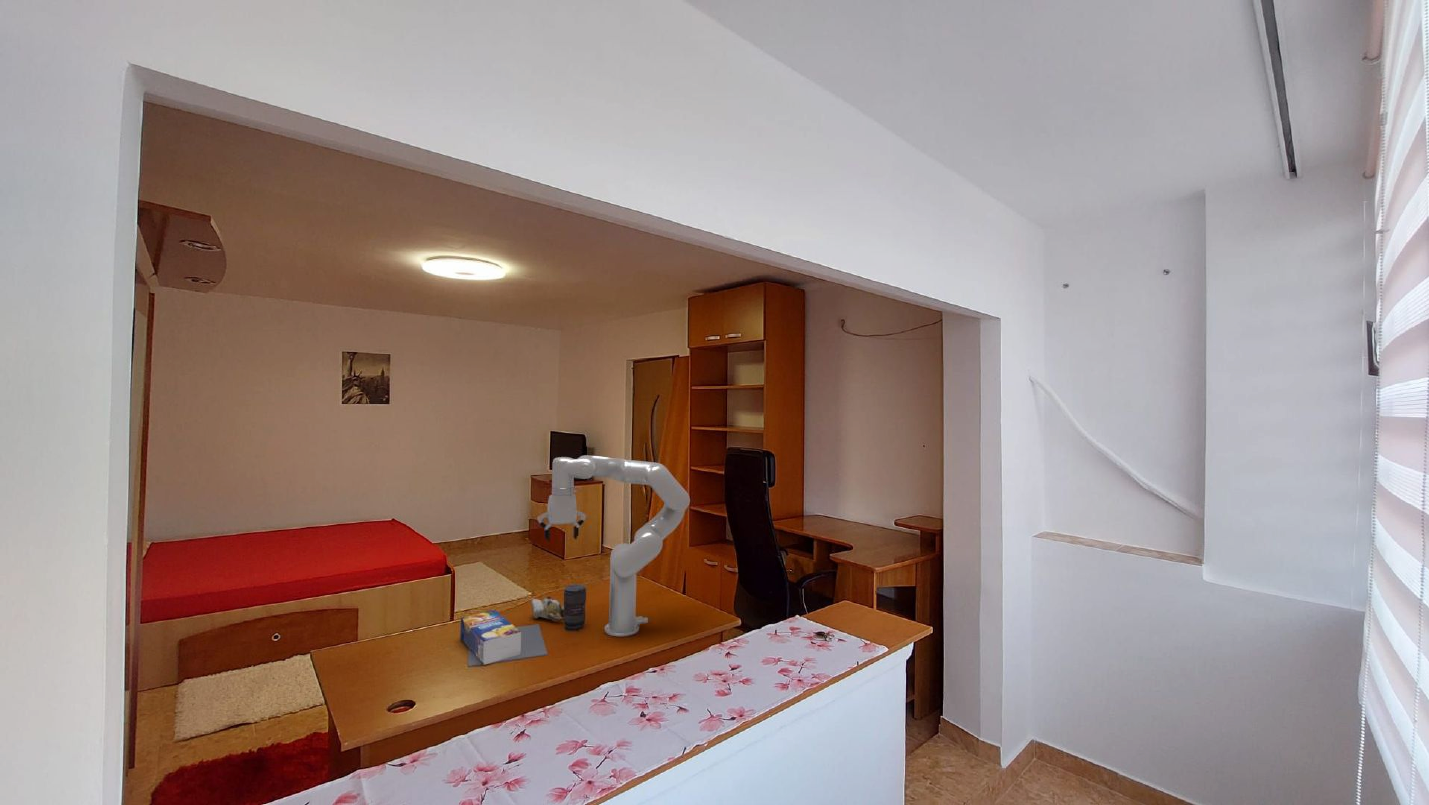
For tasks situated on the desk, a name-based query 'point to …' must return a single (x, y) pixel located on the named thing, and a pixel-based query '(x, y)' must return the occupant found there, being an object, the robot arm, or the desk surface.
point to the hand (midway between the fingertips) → (561, 539)
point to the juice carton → (490, 636)
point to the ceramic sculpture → (547, 609)
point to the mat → (529, 646)
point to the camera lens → (574, 607)
